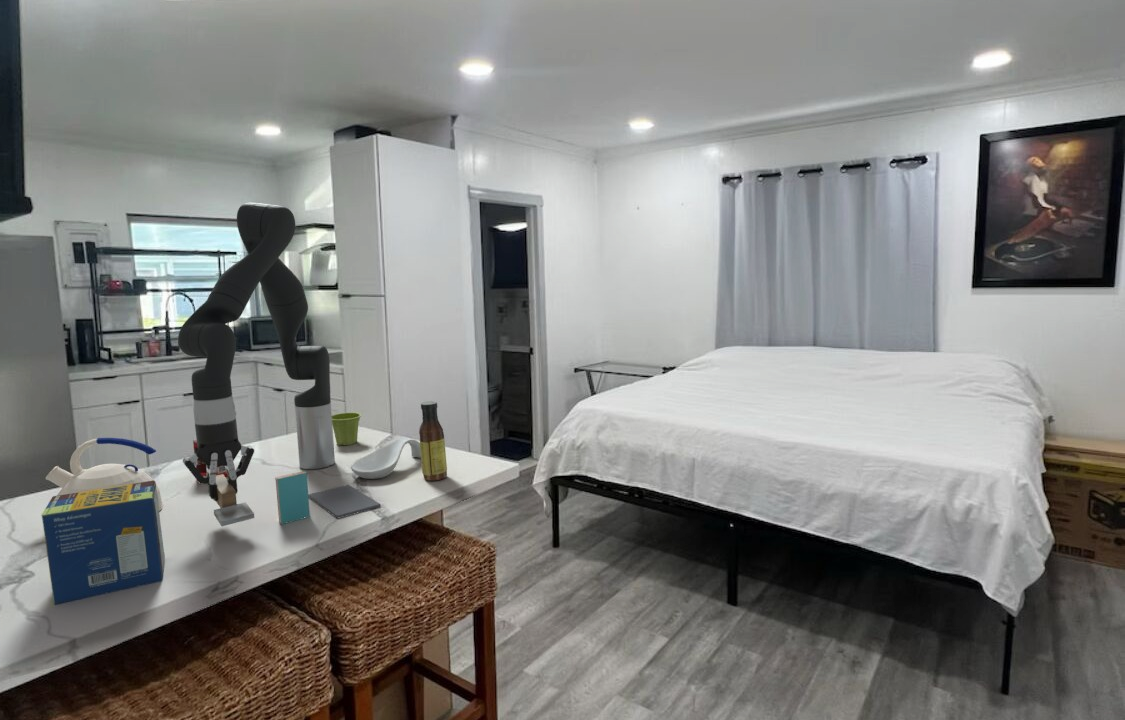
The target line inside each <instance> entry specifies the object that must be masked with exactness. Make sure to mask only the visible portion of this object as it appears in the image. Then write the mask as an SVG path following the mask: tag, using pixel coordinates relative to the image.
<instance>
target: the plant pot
mask: <svg viewBox="0 0 1125 720" xmlns="http://www.w3.org/2000/svg"><path fill="white" fill-rule="evenodd" d="M361 417H362V414H361V413H359V412H343V413H342V412H340V413H336V414H332V426H333V435H334V437H335V443H336V445H338V446H342V445H344V446H349V445H355V444H356V443H357V442H358V433H359V432H358V431H359V423H360V418H361Z"/></svg>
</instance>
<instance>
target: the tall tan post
mask: <svg viewBox="0 0 1125 720" xmlns="http://www.w3.org/2000/svg"><path fill="white" fill-rule="evenodd" d="M227 479H228V478H227V477H225V476H224V475H223V474H222V475H217V476H216V483H217V492H218V501H215V502H216V504H217V505H218V506H219V508H216V509H213V515H214V517H215V519H216V520H217V522H218V523H219V524H220V526H221V527H225V526H229V525H232V524H237V523H241V522H245V521H249V520H251V519H252V520H253V519H255V512H254V511H253V510H252V509H251V508H250V506H249V504H248V503H247V502H241V503H237V502H238V500H237V494H236V491H235V489H234V488H233V487H232V485H231V484H229V482H228V481H227Z"/></svg>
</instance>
